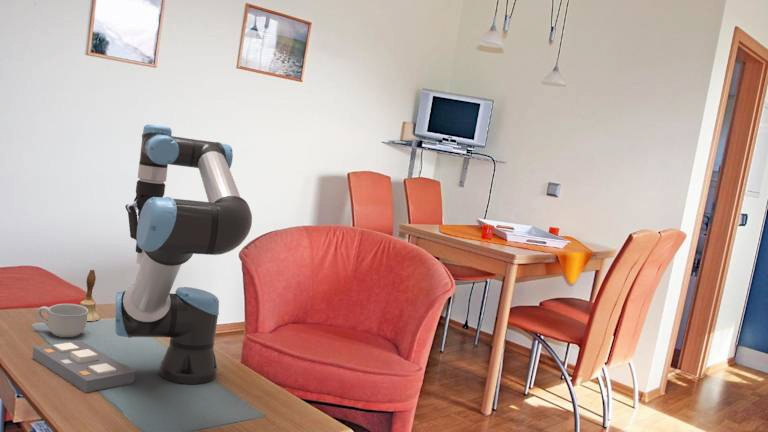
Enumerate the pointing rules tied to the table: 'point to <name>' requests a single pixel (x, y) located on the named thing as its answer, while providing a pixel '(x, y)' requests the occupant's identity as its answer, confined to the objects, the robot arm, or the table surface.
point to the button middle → (83, 356)
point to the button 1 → (66, 347)
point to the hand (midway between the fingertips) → (141, 263)
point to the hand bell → (88, 302)
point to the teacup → (65, 319)
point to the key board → (83, 368)
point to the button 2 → (102, 369)
